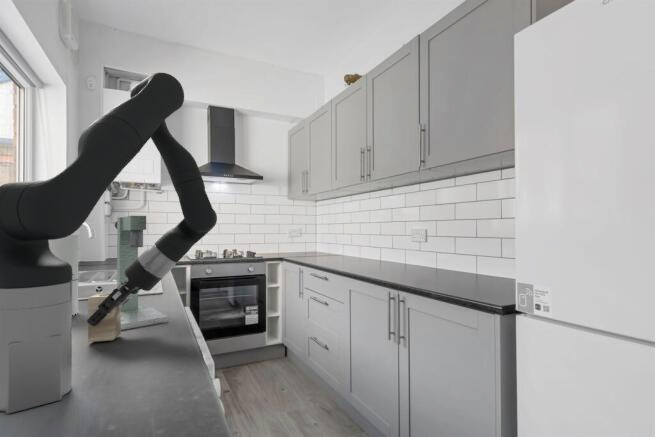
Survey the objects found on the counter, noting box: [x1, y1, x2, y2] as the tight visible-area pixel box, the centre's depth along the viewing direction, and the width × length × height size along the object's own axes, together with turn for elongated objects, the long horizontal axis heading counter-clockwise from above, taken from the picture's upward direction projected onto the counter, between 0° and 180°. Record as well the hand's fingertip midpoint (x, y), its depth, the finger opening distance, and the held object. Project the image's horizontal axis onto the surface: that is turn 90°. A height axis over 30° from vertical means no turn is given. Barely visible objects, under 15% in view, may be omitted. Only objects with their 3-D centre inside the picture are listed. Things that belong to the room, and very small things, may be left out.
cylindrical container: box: [49, 234, 79, 316], centre depth 109 cm, size 7×7×25 cm
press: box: [114, 215, 169, 331], centre depth 106 cm, size 33×12×30 cm, turn 41°
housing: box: [87, 292, 122, 343], centre depth 82 cm, size 5×5×10 cm
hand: (96, 320), depth 81 cm, fingers closed on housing, 5 cm apart
